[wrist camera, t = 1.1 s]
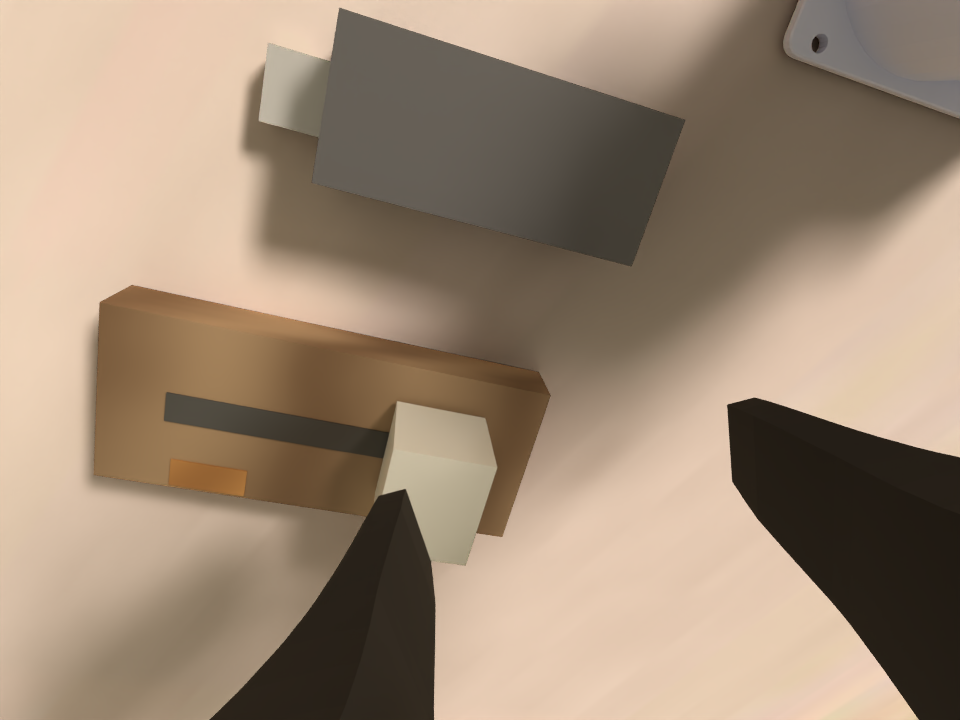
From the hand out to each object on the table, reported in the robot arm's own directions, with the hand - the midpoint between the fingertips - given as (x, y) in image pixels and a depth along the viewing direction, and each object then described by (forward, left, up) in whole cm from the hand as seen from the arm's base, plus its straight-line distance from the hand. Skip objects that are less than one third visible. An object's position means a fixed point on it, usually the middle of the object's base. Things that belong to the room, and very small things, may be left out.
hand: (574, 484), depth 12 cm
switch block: (+6, +4, -9) cm, 11 cm away
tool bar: (+3, -6, -9) cm, 11 cm away
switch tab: (+2, +4, -7) cm, 8 cm away
